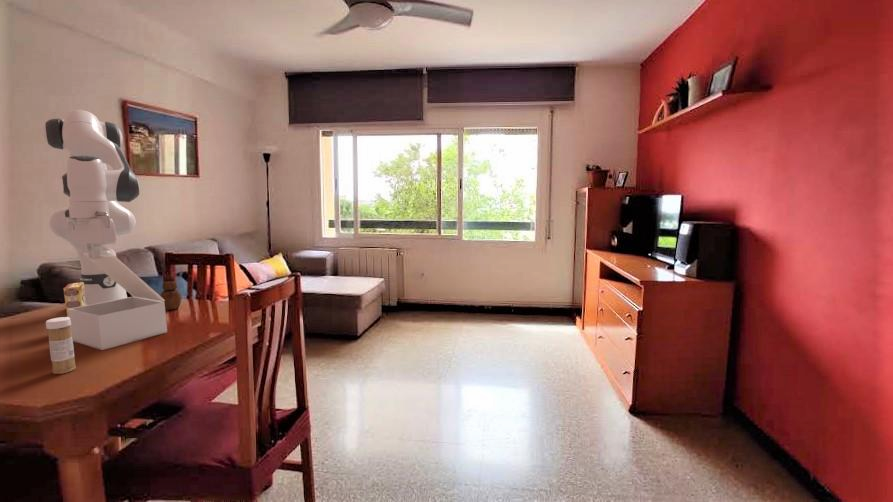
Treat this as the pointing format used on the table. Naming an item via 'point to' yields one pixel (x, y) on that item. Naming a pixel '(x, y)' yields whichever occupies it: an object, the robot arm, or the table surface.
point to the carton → (117, 322)
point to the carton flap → (125, 277)
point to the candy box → (74, 296)
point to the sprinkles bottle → (61, 345)
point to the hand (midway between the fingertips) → (94, 258)
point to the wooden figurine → (170, 293)
